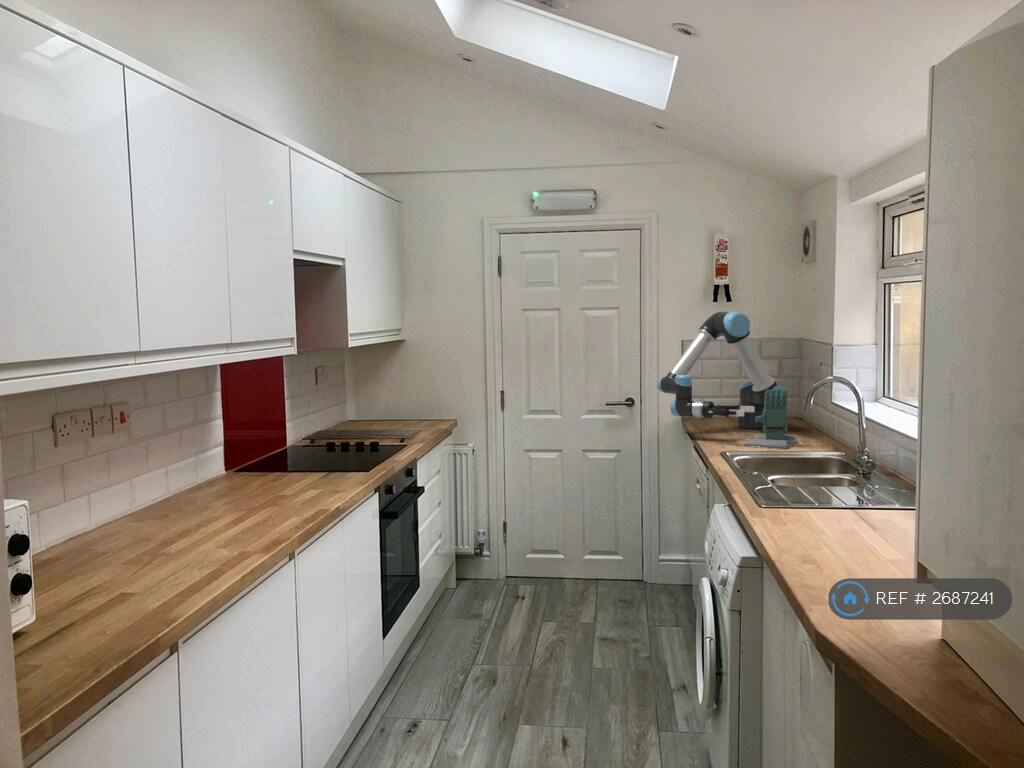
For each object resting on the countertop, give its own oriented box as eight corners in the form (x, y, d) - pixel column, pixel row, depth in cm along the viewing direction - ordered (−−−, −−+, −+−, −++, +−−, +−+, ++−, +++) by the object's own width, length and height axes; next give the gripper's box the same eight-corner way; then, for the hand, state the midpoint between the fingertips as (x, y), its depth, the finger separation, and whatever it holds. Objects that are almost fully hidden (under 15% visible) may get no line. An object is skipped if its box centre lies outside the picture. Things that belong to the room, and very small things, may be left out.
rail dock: (757, 440, 367) (757, 432, 367) (798, 442, 357) (798, 435, 357) (744, 446, 353) (744, 438, 352) (785, 449, 342) (785, 441, 342)
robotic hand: (752, 446, 355) (757, 395, 344) (753, 435, 364) (758, 385, 353) (785, 450, 351) (792, 399, 340) (786, 438, 360) (792, 388, 349)
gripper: (714, 413, 382) (758, 415, 370) (693, 421, 362) (739, 423, 349) (713, 398, 381) (758, 399, 369) (692, 404, 361) (739, 406, 349)
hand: (749, 411), depth 359 cm, fingers open, 13 cm apart
